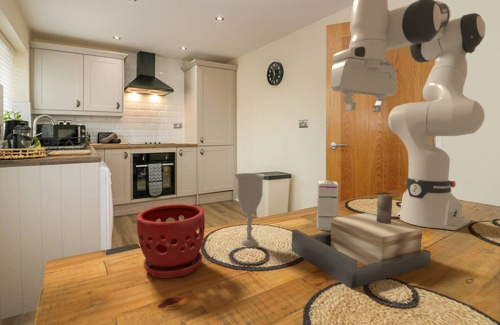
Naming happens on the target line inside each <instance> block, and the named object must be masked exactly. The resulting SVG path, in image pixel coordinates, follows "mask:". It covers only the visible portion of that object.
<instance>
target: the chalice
mask: <svg viewBox="0 0 500 325" xmlns="http://www.w3.org/2000/svg"><path fill="white" fill-rule="evenodd" d="M234 176H235V178H236V196H237V200H238V202H239V205H240V207H241V209H242V212H244V213H245V214H246V215H247V218H246V220H245V222H246V227H245V230H246V236H245V237H243V238H242V239H241V241H240V244H241V245H242V246H243V247H250V248H251V247H256V246H257V245H258V242H257V241H258V240H257V239H256V238H255V237H253V236H252V231H253V229H254V228H253V227H252V223H253V219H252V215H253V213H256V211H257V209H258V207H259V205H260V203H261V200H262V198H263V184H264V182H263V180H264V179H265V177H266V175H265V174H263V173H256V172H254V173H253V172H252V173H251V172H248V173H247V172H243V173H236V174H234Z"/></svg>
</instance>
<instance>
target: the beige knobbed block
mask: <svg viewBox="0 0 500 325" xmlns="http://www.w3.org/2000/svg"><path fill="white" fill-rule="evenodd" d="M376 207H377V208H376V214H374V213H370V212H364V213H357V214H350V215H344V216H338V217H336V218H332V222H331V231H330V232H331V245H330V247H332V248H334V249H336V250H338V251H340V252H342V253H344V254H346V255H347V256H349V257H351V258H353V259H355V260H357V262H359V263H362V264H363V265H368V264H372V263H376V262H380V261H384V260H387V259H391V258H395V257H399V256H403V255H407V254H410V253H414V252H418V251H422V239H423V228H420V227H417V226H415V225H413V226H412V225H411V224H408V223H403V222H400V221H397V220H393V219H392V211H393V196H392V195H391V194H385V193H384V194H381V193H379V194H377V205H376Z"/></svg>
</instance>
